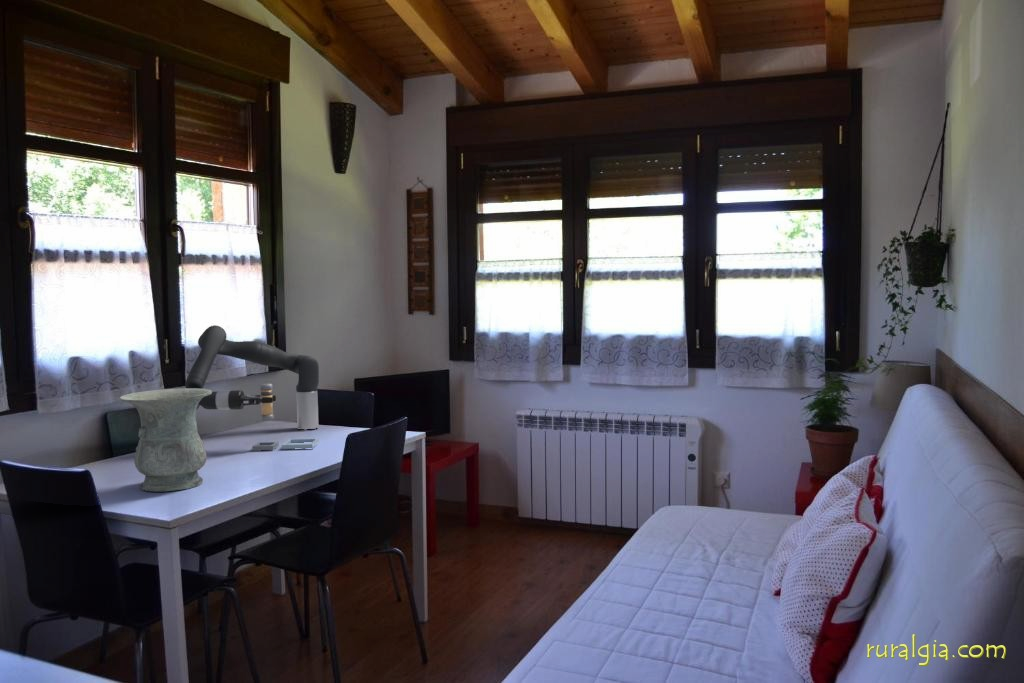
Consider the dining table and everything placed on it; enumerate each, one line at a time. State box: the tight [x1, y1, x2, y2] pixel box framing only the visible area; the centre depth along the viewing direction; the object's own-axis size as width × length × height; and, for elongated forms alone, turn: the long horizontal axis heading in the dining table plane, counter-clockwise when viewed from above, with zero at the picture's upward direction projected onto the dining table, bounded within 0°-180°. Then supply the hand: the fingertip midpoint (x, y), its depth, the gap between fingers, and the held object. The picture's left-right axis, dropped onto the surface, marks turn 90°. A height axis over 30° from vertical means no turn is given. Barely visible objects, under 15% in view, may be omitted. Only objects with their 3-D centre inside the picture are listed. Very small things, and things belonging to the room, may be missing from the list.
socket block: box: [251, 441, 280, 452], centre depth 300 cm, size 8×8×2 cm
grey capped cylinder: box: [259, 382, 275, 421], centre depth 299 cm, size 5×5×14 cm
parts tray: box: [281, 437, 320, 450], centre depth 303 cm, size 12×12×2 cm
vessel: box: [119, 387, 213, 493], centre depth 244 cm, size 27×27×30 cm
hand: (273, 399), depth 299 cm, fingers closed on grey capped cylinder, 4 cm apart
